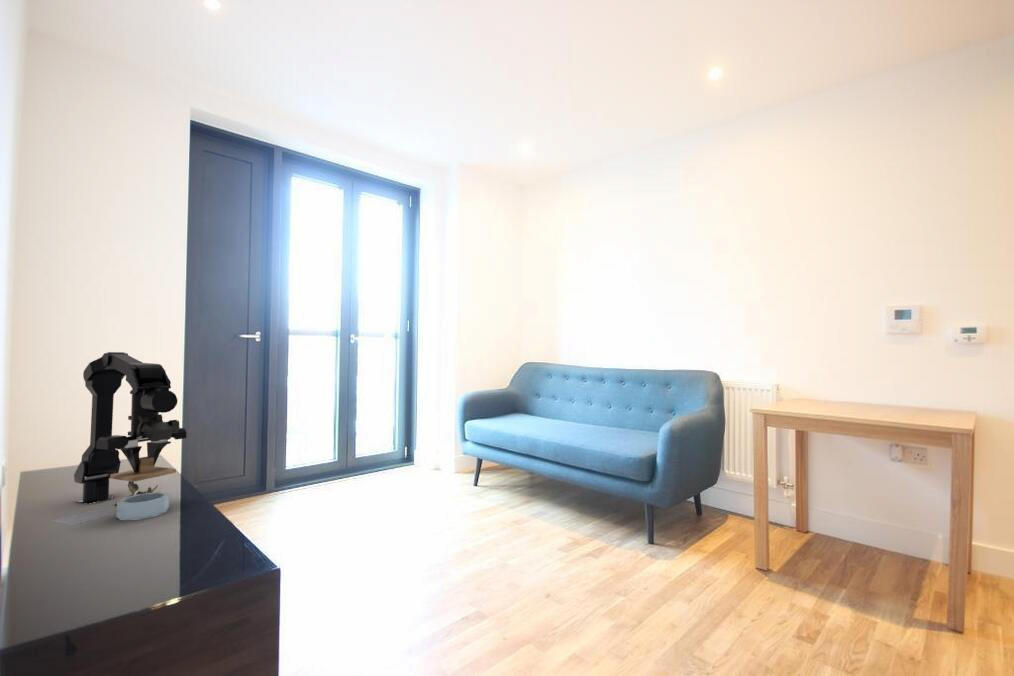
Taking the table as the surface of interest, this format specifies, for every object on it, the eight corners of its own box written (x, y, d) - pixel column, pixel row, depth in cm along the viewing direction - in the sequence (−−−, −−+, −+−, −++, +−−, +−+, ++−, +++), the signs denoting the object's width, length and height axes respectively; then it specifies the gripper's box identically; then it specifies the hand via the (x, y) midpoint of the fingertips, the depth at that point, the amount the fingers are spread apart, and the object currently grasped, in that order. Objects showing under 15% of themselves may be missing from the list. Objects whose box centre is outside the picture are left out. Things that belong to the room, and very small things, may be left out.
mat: (48, 522, 115) (48, 520, 115) (96, 510, 125) (96, 508, 125) (70, 527, 112) (70, 525, 112) (118, 514, 121) (118, 513, 121)
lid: (110, 478, 118) (110, 460, 118) (152, 469, 127) (153, 453, 127) (133, 481, 114) (134, 463, 114) (175, 472, 123) (176, 455, 123)
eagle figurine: (161, 494, 135) (131, 489, 135) (155, 477, 132) (125, 472, 132) (141, 515, 129) (110, 510, 129) (135, 498, 125) (102, 493, 125)
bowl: (109, 519, 117) (110, 501, 117) (152, 507, 126) (152, 490, 127) (133, 523, 113) (133, 505, 114) (175, 511, 123) (176, 494, 123)
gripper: (122, 416, 110) (120, 482, 109) (200, 408, 127) (199, 465, 126) (95, 415, 114) (93, 478, 113) (174, 407, 131) (173, 462, 130)
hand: (143, 470), depth 120 cm, fingers closed on lid, 3 cm apart
